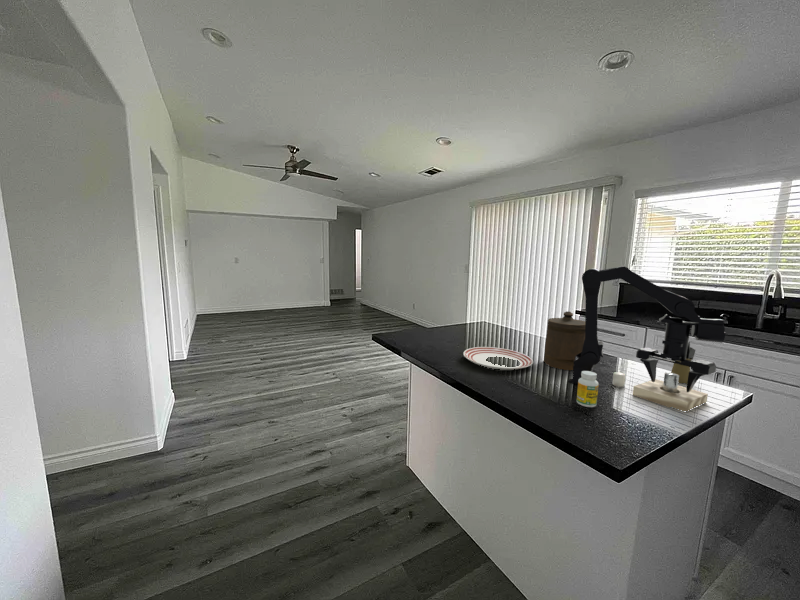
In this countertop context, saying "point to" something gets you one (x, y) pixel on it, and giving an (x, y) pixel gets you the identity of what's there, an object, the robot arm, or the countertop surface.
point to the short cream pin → (618, 379)
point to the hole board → (670, 395)
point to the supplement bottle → (587, 389)
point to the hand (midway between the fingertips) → (670, 386)
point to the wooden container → (564, 341)
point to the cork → (681, 372)
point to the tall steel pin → (670, 382)
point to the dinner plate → (482, 353)
